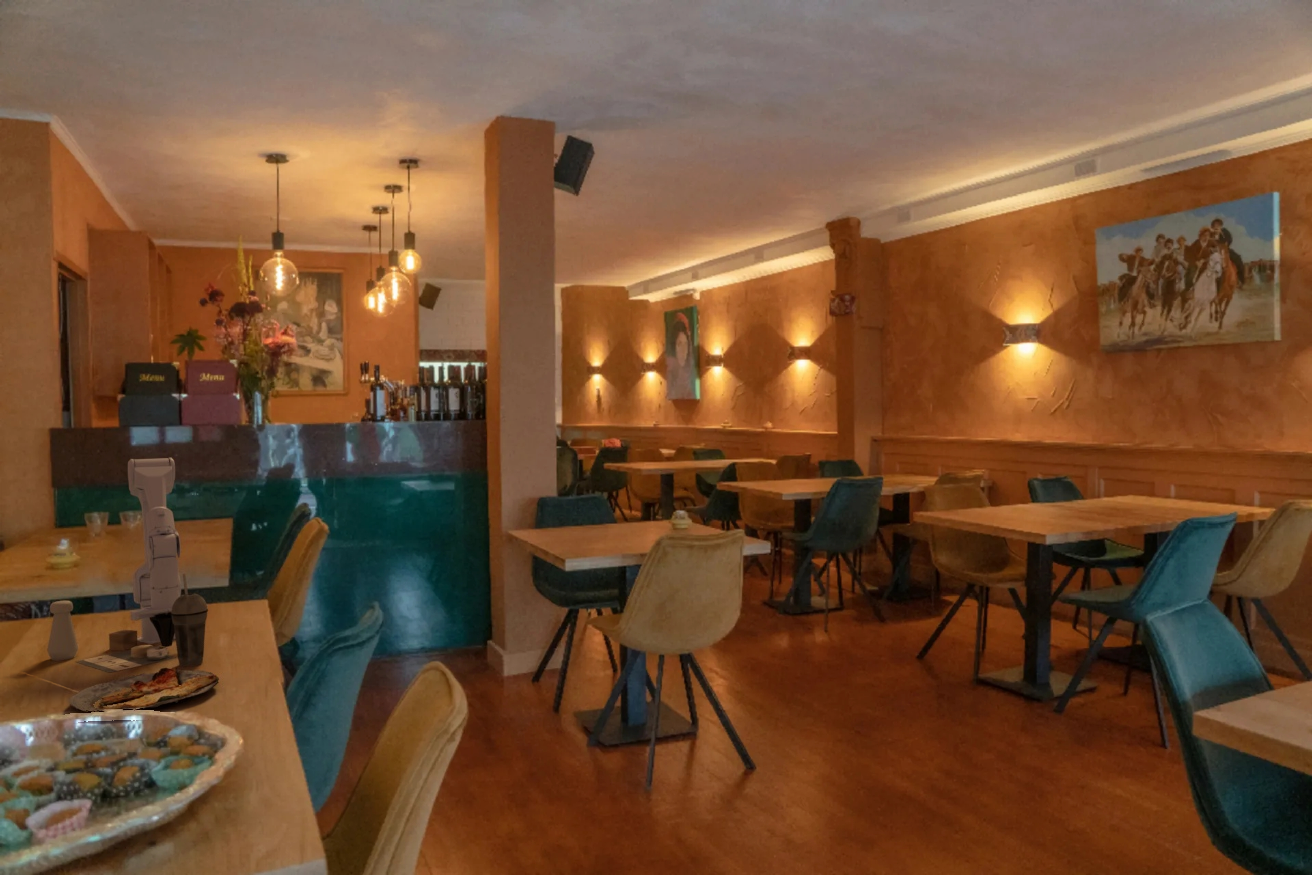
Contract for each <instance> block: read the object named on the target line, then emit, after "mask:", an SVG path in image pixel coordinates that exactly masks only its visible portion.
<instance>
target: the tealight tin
mask: <svg viewBox="0 0 1312 875" xmlns="http://www.w3.org/2000/svg"><path fill="white" fill-rule="evenodd" d="M167 655H168V647H163V646H154V647H153V648H151V649H148V650H147V661H160V662H162V661H161V660H164V661H166V660H165V659H167Z"/></svg>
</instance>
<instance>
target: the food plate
mask: <svg viewBox="0 0 1312 875" xmlns="http://www.w3.org/2000/svg"><path fill="white" fill-rule="evenodd" d="M219 680H220V679H219V677H218V676H217V675H216V674H214V673H213V672H210V671H205V670H197V669H196V670H194V669H190V670H189V669H178V668H177V667H176V666H173V667H171V668H168V667H162V668H160V670H159V671H156V672H150V673H140V674H135V675H130V676H126V677H122V678H117V679H113V680H109V681H104V682H102V683H97V684H94V685H93V686H88V687H86V688H84V689H82V690H80V691H78V692H77V693H75V694H74V695H72V696H70V698H68V704H69V705H70V706H71V707H73V708H75V709H77V710H81V711H83V712H87V711H86V710H103V709H136V708H143V709H149V708H150V709H152V708H158V707H160V706H162V705H166V704H170V703H171V704H172V703H173V702H175V703H179V701H180V700H183V699H186V698H190V697H195V696H197V695H201V694H204V693H207V692H209V691H211V690H212V689H213V688H214V687H216V686H217V685H218V684H219ZM179 685H181V686H179ZM122 689H124V691H125V690H129V689H131V691H132V692H131V691H130V692H129V691H126V692H122V693H117V692H121V690H122ZM113 693H117V694H116V695H111V694H113ZM150 694H152V695H150ZM108 695H110V696H108ZM144 695H146V696H144ZM101 699H102V700H101ZM98 700H100V701H98ZM97 701H98V704H99V705H100V706H106V707H104V708H99V707H100V706H99V705H98V706H99V707H96V706H95V707H96V708H95V707H94V705H93V704H95V702H97ZM124 702H126V703H124ZM113 704H117V705H113ZM107 705H109V706H107Z"/></svg>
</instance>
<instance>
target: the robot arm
mask: <svg viewBox="0 0 1312 875" xmlns="http://www.w3.org/2000/svg"><path fill="white" fill-rule="evenodd" d="M127 479H128V489H129V491H130V495H131V496H133V497H137V498H138V500H139V503H140V507H141V515H142V516H141V518H142V532H143V533H142V534H143V546H144V547H143V549H144V558H145V559H144V561H145V563H143V564H142V565H140V567H138V568H137V569H136V570H135V571H134V573H133V576H132V577H133V581H132V592H133V594H132V595H133V601H134V602H135V603H136V604H139V605H140V608H139V609H136V610H130V621H134V622H136V621H140V630H141V636H139V637H138V636H137V642H140V643H144V644H146V645H153V644H157V643H160V645H161V646H160V647H165V648H168V647H172V645H173V641H174V640H176V638H175V630H174V624H173V621H172V615H171V612H172V606H173V604H174V602H175V601H176V599H177V598H178V597H180V596H181V595H182V582H181V576H180V571H179V570H180V569H179V558H180V557H181V552H182V551H181V548H182V547H181V543H182V542H181V537H180V534H179V532H178V529H176V526H175V519H174V513H173V511H172V510H171V509H170V508H168V507H167V495H169V494H170V493H172V492H173V488H174V485H175V484H174V483H175V479H176V464H175V460H174V459H173V457H168V458H167V457H166V458H165V457H164V458H163V457H162V458H139V459H138V458H137V459H136V458H135V459H134V458H130V459H129V460H128V462H127Z"/></svg>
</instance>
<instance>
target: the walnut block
mask: <svg viewBox="0 0 1312 875" xmlns="http://www.w3.org/2000/svg"><path fill="white" fill-rule="evenodd" d="M108 636H109V637H108V640H109V643H108V644H109V650H113V651H127V650H131V648H132V647H135V646H139V645H138V644H139V643H138V642H139V641H137V638H138V630H135V629H134V630H129V629H123V630H117V631H116V632H115V631H114V632H111V633H108Z"/></svg>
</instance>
